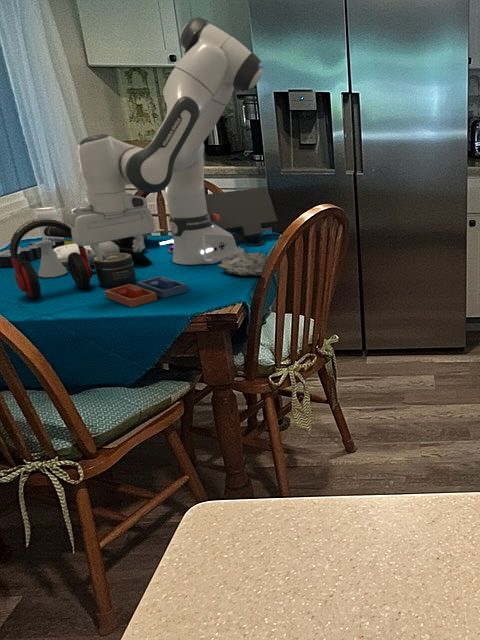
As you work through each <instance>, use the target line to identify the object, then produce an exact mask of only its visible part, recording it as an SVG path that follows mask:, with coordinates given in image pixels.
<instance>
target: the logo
mask: <svg viewBox="0 0 480 640" xmlns="http://www.w3.org/2000/svg"><path fill="white" fill-rule="evenodd" d="M45 239H46V240H50V241H52V243H51V245H52V248H53V249H55V248H57V247H60V246H64V245H65V244H64V241H72V239H70V238H64V239H58V238H45ZM38 242H39V241H33V242H29V243H28V245H27V246H26V247H24V246H18V250H17V259H18V263H20V262H22V261H28V262H31V261H34V260H35V259H41V246H40V244H39V243H38ZM59 243H60V244H59ZM11 257H12V256H11V254H10V248H9V249H6V250H2V251H0V268H12V267H13V263H12V259H11ZM13 268H14V267H13Z"/></svg>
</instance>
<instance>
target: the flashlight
mask: <svg viewBox="0 0 480 640" xmlns="http://www.w3.org/2000/svg"><path fill="white" fill-rule="evenodd" d="M44 235H45V236H49V237H63V238H64V239H72V236H70V235H69V234H68V233H67V232H65V231H64V230H62V229H59V228H55V227H50V226H48V227H46V228H45V229H44ZM111 242H113V243H114V240H112V241H111Z"/></svg>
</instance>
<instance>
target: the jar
mask: <svg viewBox="0 0 480 640" xmlns="http://www.w3.org/2000/svg"><path fill="white" fill-rule="evenodd" d="M105 257H106V260H101V261H100V260H98V258H97V257H96V258H94V264H93V267H94V269H95V274H96V277H97V281H98V283H99V284H100V286H102V287H104V288H108V289H113V288H117V287H121V286H125V285H128V284H132V285H133V284H134V283H135V281H136V276H137V275H136V274H137V273H136V269H135V264H134V263H135V262H133V259H132V256H131V255H130V254H128V253H110V254H106V256H105Z"/></svg>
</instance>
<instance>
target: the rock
mask: <svg viewBox="0 0 480 640" xmlns="http://www.w3.org/2000/svg"><path fill="white" fill-rule="evenodd" d="M267 258H268V256H267V253H260V252H245V253H238V254H236V255H234V256H231V257H227V258H226V259H225V260H223V261H221V263H220V264H218V268H220V269H222V270H223V271H224V272H226V273H227V274H234V275H239V276H241V277H242V276H261V275H260V273H261V271H262V269H263V267H264V264H265V262H266V260H267ZM279 271H280V269H279V270H275V272H279Z"/></svg>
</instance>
